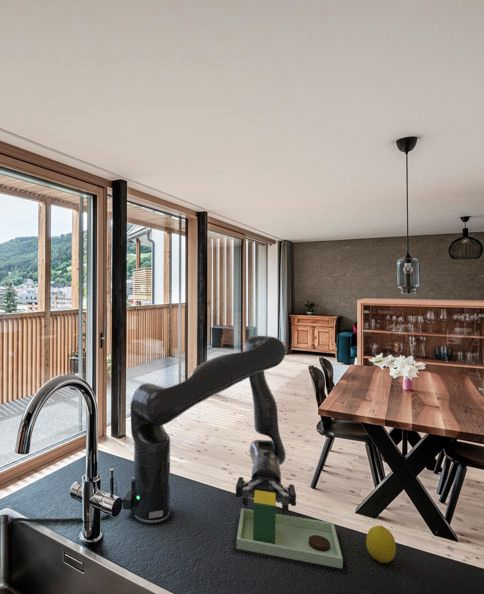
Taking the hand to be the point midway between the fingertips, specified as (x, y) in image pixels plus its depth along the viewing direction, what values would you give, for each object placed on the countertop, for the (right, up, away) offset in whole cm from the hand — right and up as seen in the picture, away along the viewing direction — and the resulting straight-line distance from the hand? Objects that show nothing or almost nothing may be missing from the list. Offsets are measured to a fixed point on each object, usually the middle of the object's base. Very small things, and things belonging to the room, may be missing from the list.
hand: (264, 505), depth 96 cm
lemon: (+22, -8, -8) cm, 25 cm away
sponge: (0, -7, 0) cm, 7 cm away
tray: (+5, -8, -1) cm, 9 cm away
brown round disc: (+11, -7, -3) cm, 14 cm away
